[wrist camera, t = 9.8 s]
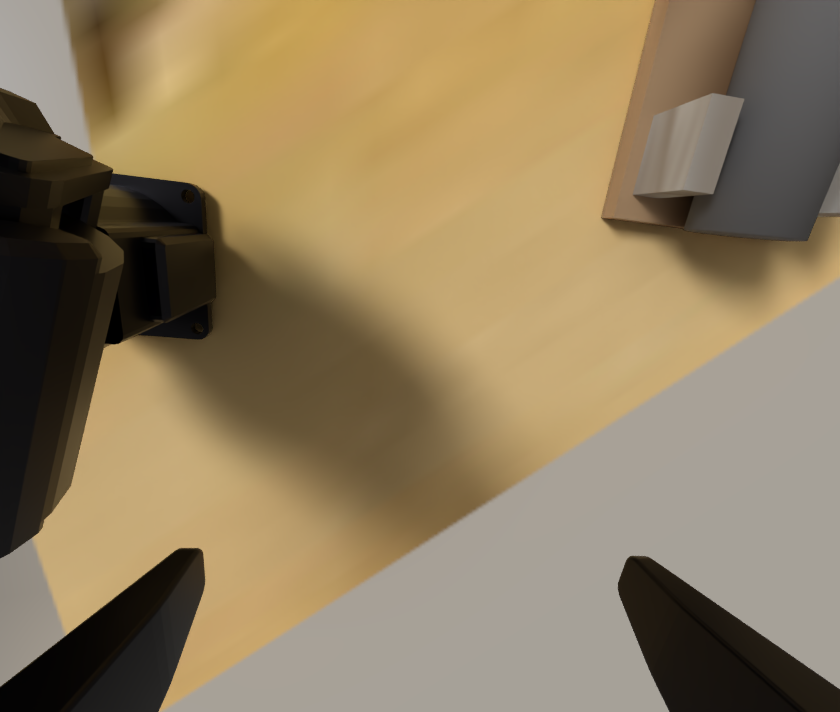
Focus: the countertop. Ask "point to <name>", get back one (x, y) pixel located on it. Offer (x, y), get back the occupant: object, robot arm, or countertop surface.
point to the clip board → (683, 114)
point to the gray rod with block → (779, 126)
